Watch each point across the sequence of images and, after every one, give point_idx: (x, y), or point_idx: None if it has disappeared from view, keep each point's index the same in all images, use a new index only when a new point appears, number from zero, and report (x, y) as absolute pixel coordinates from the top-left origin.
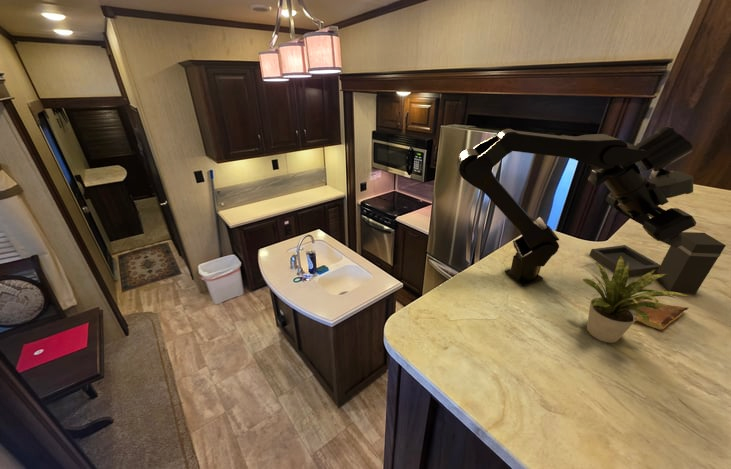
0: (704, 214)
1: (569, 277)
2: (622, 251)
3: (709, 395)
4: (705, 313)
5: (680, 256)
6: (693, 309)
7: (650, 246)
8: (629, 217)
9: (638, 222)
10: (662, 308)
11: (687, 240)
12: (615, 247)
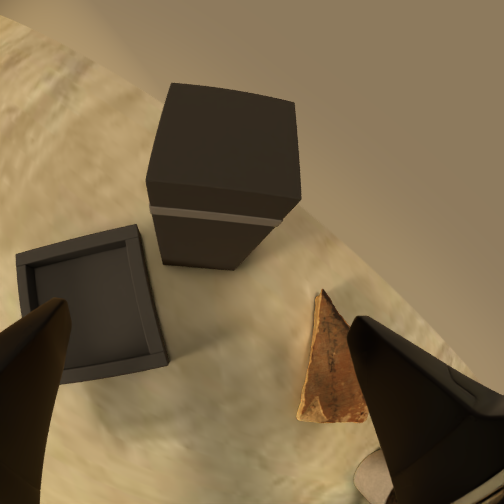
0: (3, 38)
1: (186, 494)
2: (33, 269)
3: (452, 366)
4: (309, 246)
5: (227, 231)
6: (298, 262)
7: (23, 167)
8: (40, 473)
9: (53, 397)
10: (335, 354)
11: (236, 195)
12: (25, 297)
